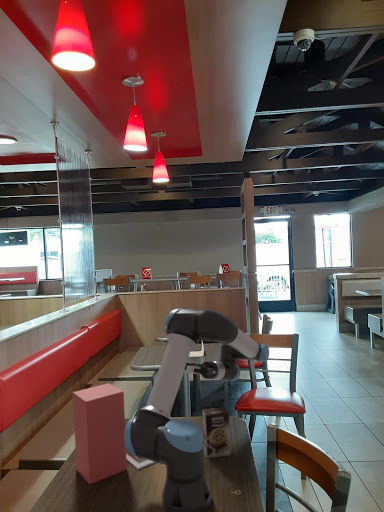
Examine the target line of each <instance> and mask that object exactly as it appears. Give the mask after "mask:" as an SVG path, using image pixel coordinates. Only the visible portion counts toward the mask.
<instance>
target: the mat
mask: <svg viewBox="0 0 384 512" xmlns="http://www.w3.org/2000/svg"><path fill="white" fill-rule="evenodd" d="M126 458H127V462H128V463H129V464H130V465H131V466H133V467H134V468H135V469H136V470H138V471H139V470H141V469H143V468H146V467H148V465H149V466H150V465H153V464H156V463H157V462H154V461H150V460H147V459H141V460H138V461H137V460H136V459H135V458H134V457H132V456H131V455H130V454H128V453H127V452H126Z"/></svg>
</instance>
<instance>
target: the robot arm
mask: <svg viewBox="0 0 384 512" xmlns="http://www.w3.org/2000/svg"><path fill="white" fill-rule="evenodd" d="M164 332H165V335H166V340H167V341H168V344H167V346H166V349H165V353H164V355H163V357H162V360H161V363H160V367H159V369H158V372H157V374H156V377H155V381H153V382H154V383H153V386H152V388H151V391H150V394H149V396H148V399H147V401H146V405H145V406H144V407H141V408H140V409H139V412H138V414H137V416H136V415H135V416H132V417H131V418H130V419H129V420H128V421H127V423H126V424H125V431H124V443H125V447H126V449H127V451H128V452H129V453H130V454H131V455H134V456H137V457H138V458H143V459H147V460H150V461H154V462H156V463H157V464H161V465H164V466H165V469H166V470H165V471H166V477H165V481H164V485H163V489H162V491H161V505H162V508H163V509H164V510H165V512H205V511H207V509H208V508H209V507H210V505H211V502H212V496H211V495H212V494H211V492H212V491H211V489H210V486H209V484H208V481H207V478H206V476H205V463H204V461H205V459H204V456H205V455H204V442H203V430H202V429H201V427H200V425H199V424H197V423H196V422H194V421H192V420H189V419H183V418H181V419H178V418H176V419H173V418H172V416H171V412H172V409H173V407H174V406H173V405H174V402H175V401H176V400H175V399H176V397H177V394H178V390H179V387H180V386H181V385H180V384H181V381H182V378H183V375H184V372H185V373H187V374H193V375H194V374H195V375H201V377H202V378H203V379H206V380H214V382H217V380H218V381H223V382H224V381H225V382H236V381H237V380H238V379H239V378H240V376H241V369H240V367H239V365H238V364H237V360H245V361H254V362H262V363H263V362H267V361H268V360H269V358H270V348H269V346H268V344H265V343H264V344H263V343H258V342H257V341H255V340H254V339H253V338H251V337H250V336H248V334H246V333H245V332H243V330H241V329H240V328H239V326H238V324H237V323H236V322H235V321H234V320H232V319H231V318H229V317H228V316H226V314H225V315H224V314H222V313H220V312H218V311H215V310H213V309H208V308H207V309H203V308H201V309H200V308H199V309H198V308H189V307H188V308H187V307H182V308H174V309H173V310H171V311H170V312H169V313H168V315H167V317H166V319H165V321H164ZM199 341H201V342H215V343H216V342H217V343H220V344H221V345H220V354H219V355H220V356H219V361H213V360H205V361H203V362H202V363H196V362H195V363H194V362H188V359H189V357H190V354H191V351H192V350H194V349H196V348H197V344H198V342H199ZM185 370H186V371H185Z"/></svg>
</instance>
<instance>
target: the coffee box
mask: <svg viewBox="0 0 384 512" xmlns="http://www.w3.org/2000/svg"><path fill="white" fill-rule="evenodd" d="M230 432H231V431H230V412H229V411H228V409H226V407H225V406H222V407H212V408H204V409H202V436H203V442H204V444H203V453H204V454H205V456H206V458H207V459H211V458H219V457H226V456H231V437H230V435H231V434H230Z"/></svg>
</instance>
